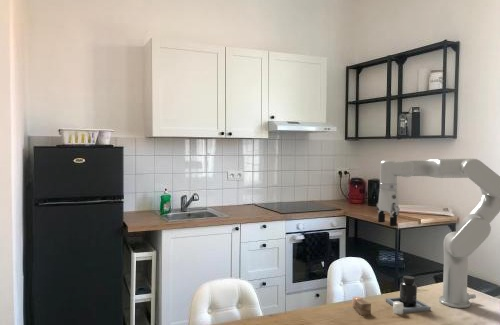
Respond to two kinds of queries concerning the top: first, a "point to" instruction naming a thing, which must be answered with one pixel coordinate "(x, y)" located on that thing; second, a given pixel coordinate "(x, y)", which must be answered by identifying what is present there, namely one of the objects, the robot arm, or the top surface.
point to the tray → (419, 307)
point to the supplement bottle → (408, 291)
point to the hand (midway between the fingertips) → (387, 224)
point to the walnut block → (363, 307)
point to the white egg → (398, 307)
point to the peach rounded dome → (355, 301)
